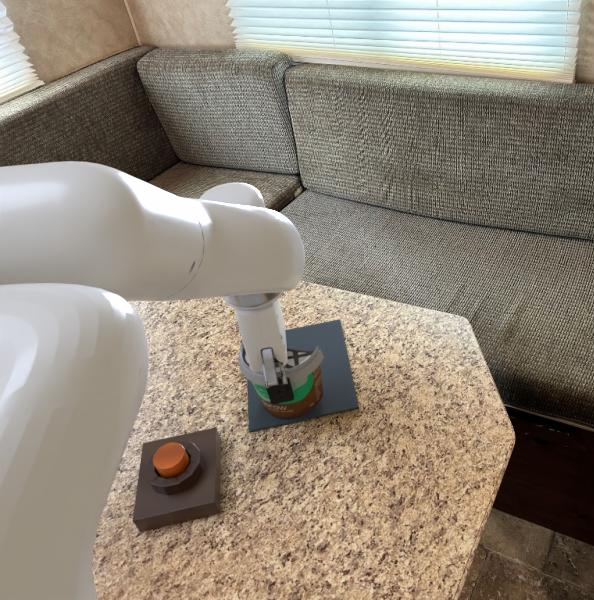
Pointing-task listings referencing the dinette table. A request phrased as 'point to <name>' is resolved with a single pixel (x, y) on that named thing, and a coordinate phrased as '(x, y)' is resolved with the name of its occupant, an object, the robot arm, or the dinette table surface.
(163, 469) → the button
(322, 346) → the mat
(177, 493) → the button box
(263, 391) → the food container
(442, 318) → the dinette table surface
